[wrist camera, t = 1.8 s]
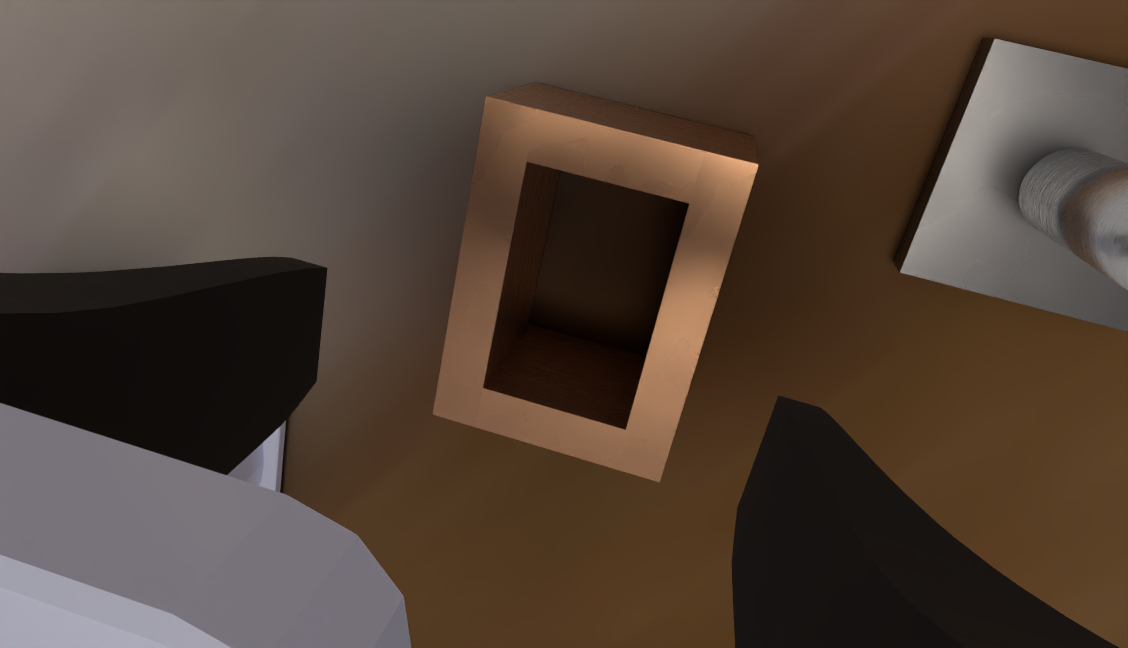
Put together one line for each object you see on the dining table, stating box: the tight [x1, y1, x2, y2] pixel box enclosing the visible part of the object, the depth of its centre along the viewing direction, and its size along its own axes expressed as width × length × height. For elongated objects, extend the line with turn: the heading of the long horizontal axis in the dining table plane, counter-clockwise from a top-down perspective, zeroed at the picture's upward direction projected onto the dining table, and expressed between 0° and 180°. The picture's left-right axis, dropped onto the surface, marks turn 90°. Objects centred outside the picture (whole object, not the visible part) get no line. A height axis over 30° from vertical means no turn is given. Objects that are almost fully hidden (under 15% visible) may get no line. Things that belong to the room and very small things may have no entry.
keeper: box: [893, 38, 1128, 332], centre depth 14 cm, size 5×5×5 cm
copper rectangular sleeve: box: [433, 82, 759, 482], centre depth 18 cm, size 7×5×4 cm
